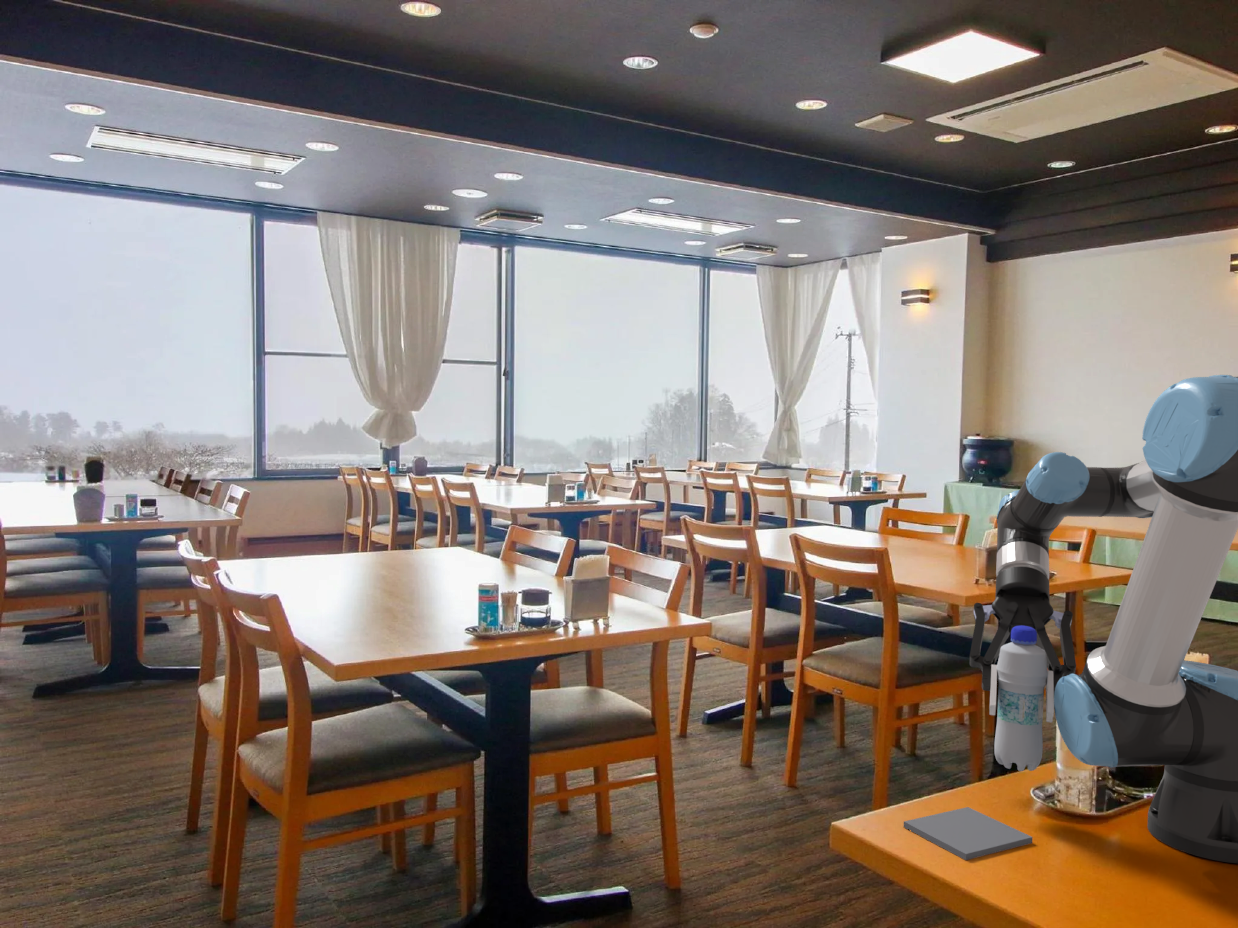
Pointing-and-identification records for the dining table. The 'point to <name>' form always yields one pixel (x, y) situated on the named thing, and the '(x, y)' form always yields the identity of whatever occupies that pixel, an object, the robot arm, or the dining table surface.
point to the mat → (967, 833)
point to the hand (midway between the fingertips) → (1021, 713)
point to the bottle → (1020, 700)
